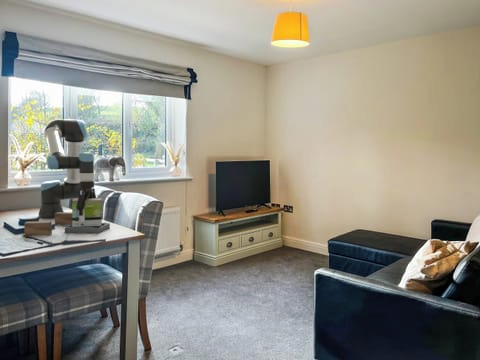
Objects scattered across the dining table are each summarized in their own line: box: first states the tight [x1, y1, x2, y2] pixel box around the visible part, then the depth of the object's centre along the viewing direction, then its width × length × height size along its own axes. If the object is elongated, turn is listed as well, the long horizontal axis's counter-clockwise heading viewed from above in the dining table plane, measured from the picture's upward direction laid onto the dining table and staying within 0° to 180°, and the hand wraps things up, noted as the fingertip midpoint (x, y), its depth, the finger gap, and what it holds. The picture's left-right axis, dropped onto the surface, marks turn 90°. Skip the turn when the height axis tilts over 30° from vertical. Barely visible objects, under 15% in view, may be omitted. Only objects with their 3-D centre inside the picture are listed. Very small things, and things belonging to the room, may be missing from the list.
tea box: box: [71, 197, 103, 227], centre depth 214 cm, size 15×10×15 cm
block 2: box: [54, 211, 72, 226], centre depth 231 cm, size 4×12×7 cm, turn 85°
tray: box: [64, 222, 111, 235], centre depth 215 cm, size 14×19×3 cm
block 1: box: [23, 220, 53, 237], centre depth 203 cm, size 4×12×7 cm, turn 102°
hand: (87, 219), depth 215 cm, fingers closed on tea box, 12 cm apart
